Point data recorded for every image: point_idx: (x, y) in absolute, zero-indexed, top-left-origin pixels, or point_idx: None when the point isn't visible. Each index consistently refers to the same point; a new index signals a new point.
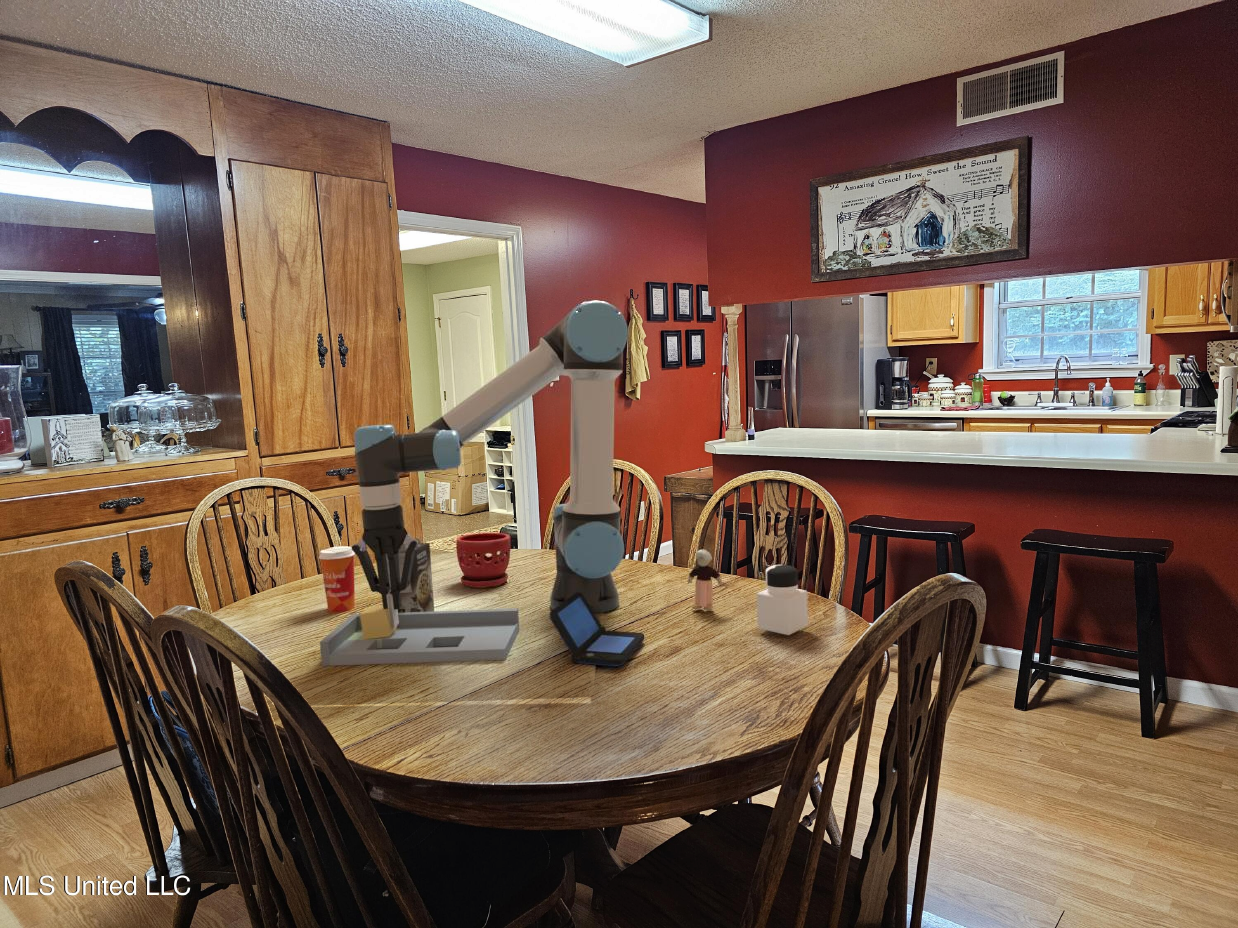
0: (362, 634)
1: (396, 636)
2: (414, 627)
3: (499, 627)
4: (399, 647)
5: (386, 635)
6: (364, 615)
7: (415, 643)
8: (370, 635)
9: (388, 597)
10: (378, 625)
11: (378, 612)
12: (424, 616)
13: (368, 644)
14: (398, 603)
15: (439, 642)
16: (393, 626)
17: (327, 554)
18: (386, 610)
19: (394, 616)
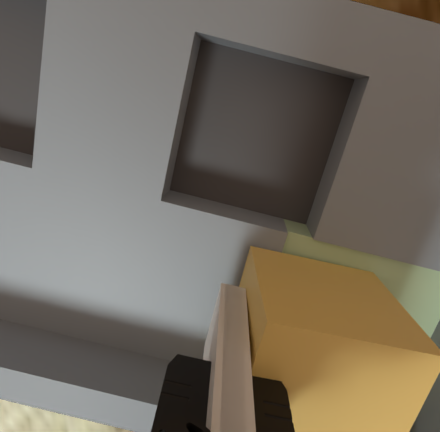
0: None
1: (217, 245)
2: (144, 342)
3: None
4: (189, 55)
5: (264, 250)
6: (411, 341)
7: (111, 97)
8: (344, 272)
9: (240, 427)
10: (309, 284)
11: (317, 329)
12: (78, 374)
13: (353, 168)
14: (170, 384)
15: (21, 156)
16: (227, 286)
17: None
18: (261, 338)
19: (215, 327)
